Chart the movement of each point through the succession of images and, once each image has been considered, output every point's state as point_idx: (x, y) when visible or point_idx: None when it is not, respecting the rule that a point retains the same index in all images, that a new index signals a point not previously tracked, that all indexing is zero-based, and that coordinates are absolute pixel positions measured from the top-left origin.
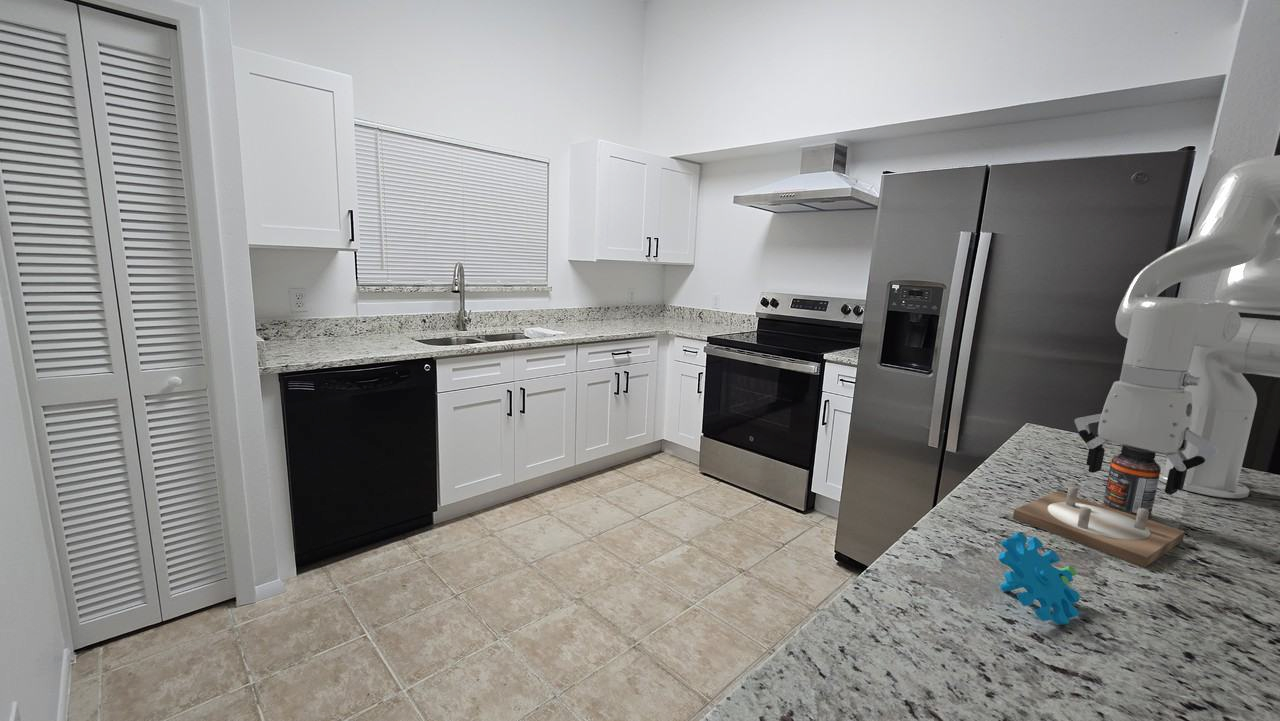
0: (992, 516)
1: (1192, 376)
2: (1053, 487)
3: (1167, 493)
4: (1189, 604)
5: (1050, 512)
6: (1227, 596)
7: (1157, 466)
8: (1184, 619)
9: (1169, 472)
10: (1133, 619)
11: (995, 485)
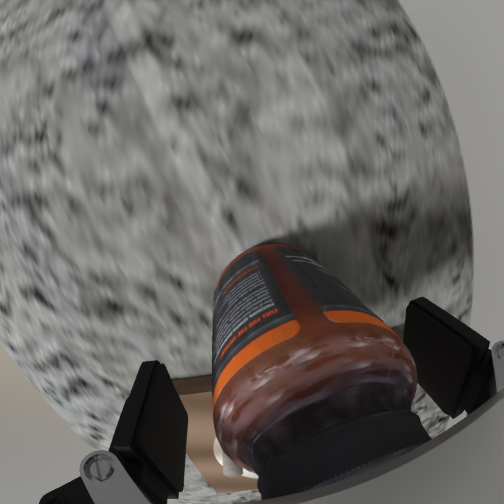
0: (204, 489)
1: None
2: (83, 306)
3: None
4: None
5: (245, 476)
6: (433, 410)
7: (412, 399)
8: None
9: (443, 410)
10: None
11: (79, 411)
